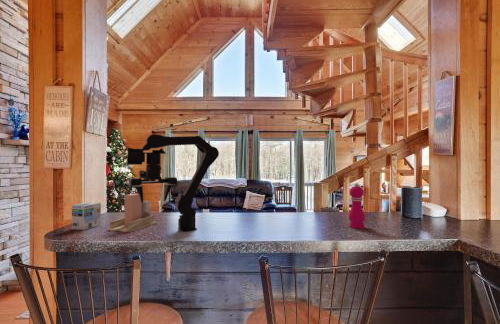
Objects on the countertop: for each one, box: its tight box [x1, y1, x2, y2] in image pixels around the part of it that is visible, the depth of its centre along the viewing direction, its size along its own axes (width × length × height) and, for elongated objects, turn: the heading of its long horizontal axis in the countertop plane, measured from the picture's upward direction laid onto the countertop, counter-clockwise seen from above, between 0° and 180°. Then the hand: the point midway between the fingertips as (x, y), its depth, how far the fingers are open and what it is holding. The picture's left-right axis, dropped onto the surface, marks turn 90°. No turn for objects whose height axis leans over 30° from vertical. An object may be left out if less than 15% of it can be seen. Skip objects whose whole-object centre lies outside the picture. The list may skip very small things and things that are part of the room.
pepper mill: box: [347, 182, 366, 230], centre depth 128 cm, size 7×7×20 cm
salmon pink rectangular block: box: [124, 193, 141, 226], centre depth 130 cm, size 4×6×14 cm, turn 165°
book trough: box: [107, 200, 157, 233], centre depth 130 cm, size 12×18×11 cm, turn 165°
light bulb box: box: [71, 201, 102, 231], centre depth 129 cm, size 11×7×11 cm, turn 168°
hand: (153, 201), depth 118 cm, fingers open, 9 cm apart
